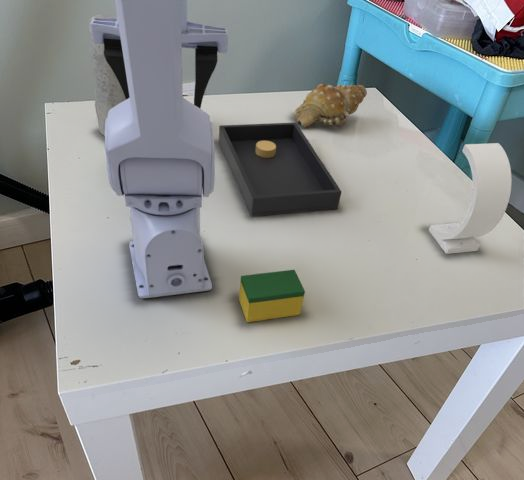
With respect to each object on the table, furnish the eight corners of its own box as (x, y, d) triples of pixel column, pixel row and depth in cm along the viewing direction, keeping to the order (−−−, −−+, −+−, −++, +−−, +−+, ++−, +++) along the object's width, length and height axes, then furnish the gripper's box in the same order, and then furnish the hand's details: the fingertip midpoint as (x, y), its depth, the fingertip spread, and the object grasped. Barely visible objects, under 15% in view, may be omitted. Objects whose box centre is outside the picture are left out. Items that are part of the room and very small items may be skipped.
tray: (337, 209, 68) (341, 191, 66) (251, 216, 65) (253, 198, 63) (293, 139, 80) (296, 122, 77) (218, 142, 76) (219, 125, 74)
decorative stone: (155, 113, 81) (147, 4, 69) (176, 128, 78) (172, 18, 67) (93, 129, 75) (75, 15, 64) (114, 146, 73) (99, 30, 61)
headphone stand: (458, 227, 68) (498, 143, 59) (481, 256, 64) (528, 170, 55) (428, 230, 67) (464, 144, 58) (449, 259, 63) (492, 172, 54)
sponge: (290, 293, 56) (294, 269, 54) (300, 315, 54) (305, 291, 52) (238, 299, 55) (240, 275, 52) (246, 322, 53) (249, 298, 50)
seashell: (313, 124, 90) (349, 72, 85) (341, 152, 87) (379, 100, 82) (283, 110, 83) (319, 52, 78) (311, 140, 80) (352, 82, 75)
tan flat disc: (277, 157, 74) (278, 149, 73) (258, 158, 74) (259, 151, 73) (272, 147, 76) (272, 139, 75) (253, 148, 75) (253, 140, 74)
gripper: (227, -28, 54) (223, 100, 65) (90, -41, 53) (107, 93, 63) (230, -9, 50) (225, 126, 60) (79, -22, 48) (100, 119, 58)
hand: (165, 111), depth 61 cm, fingers open, 7 cm apart
